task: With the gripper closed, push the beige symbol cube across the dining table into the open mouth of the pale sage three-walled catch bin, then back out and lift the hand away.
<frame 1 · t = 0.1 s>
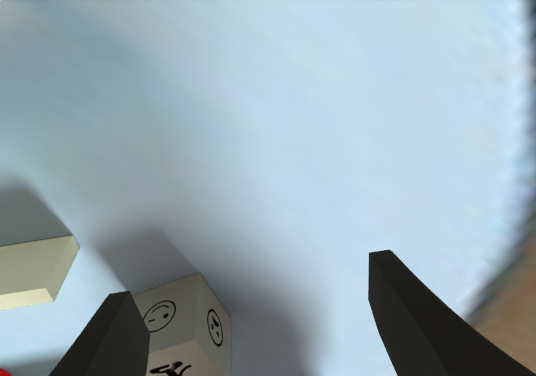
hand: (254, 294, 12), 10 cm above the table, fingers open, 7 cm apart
catch bin: (38, 330, 26), on the table
beige symbol cube: (183, 304, 27), on the table
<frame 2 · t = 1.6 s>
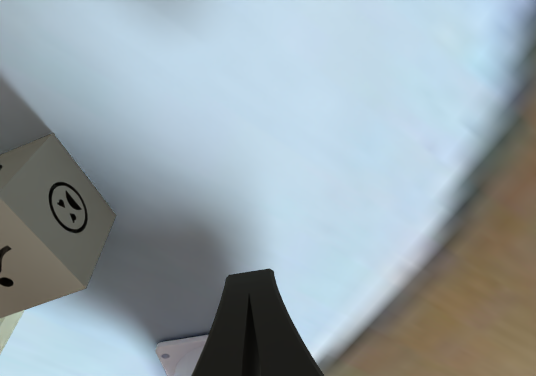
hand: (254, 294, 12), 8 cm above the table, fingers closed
beige symbol cube: (44, 191, 19), on the table
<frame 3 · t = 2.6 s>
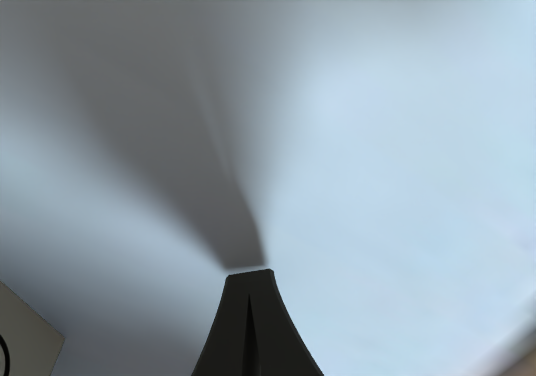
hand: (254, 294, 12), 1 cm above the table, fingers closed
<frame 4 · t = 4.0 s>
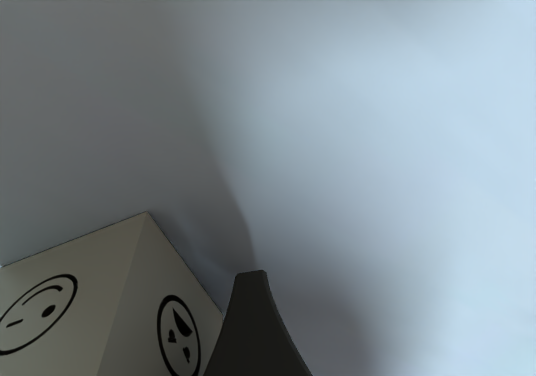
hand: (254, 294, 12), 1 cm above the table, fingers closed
beige symbol cube: (121, 288, 13), on the table, touching gripper
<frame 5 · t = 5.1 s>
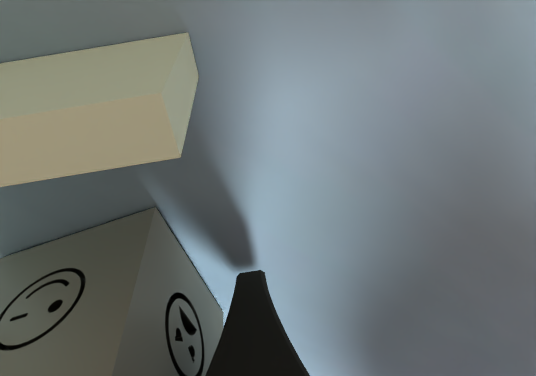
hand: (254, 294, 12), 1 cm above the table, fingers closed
catch bin: (80, 299, 13), on the table
beige symbol cube: (123, 283, 13), on the table, touching gripper
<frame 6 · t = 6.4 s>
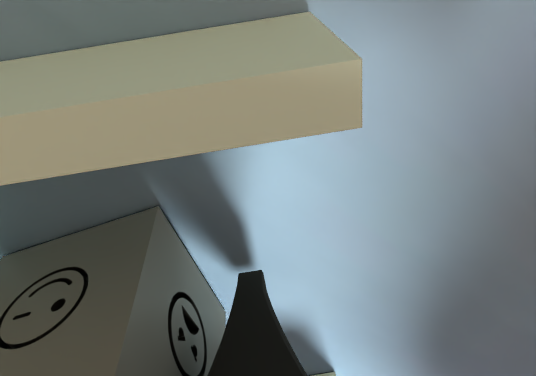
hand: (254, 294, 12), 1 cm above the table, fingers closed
catch bin: (160, 285, 13), on the table
beige symbol cube: (125, 282, 13), on the table, touching gripper
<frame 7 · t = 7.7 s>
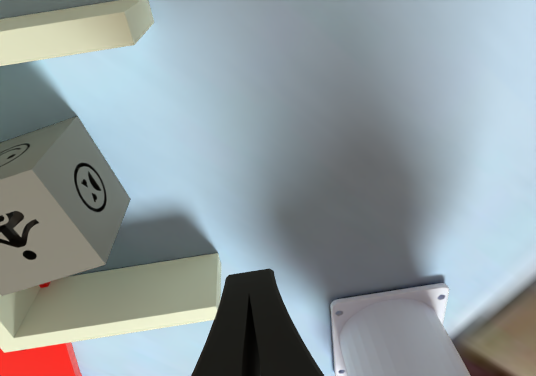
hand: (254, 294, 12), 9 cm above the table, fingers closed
catch bin: (84, 175, 20), on the table
beige symbol cube: (62, 172, 20), on the table
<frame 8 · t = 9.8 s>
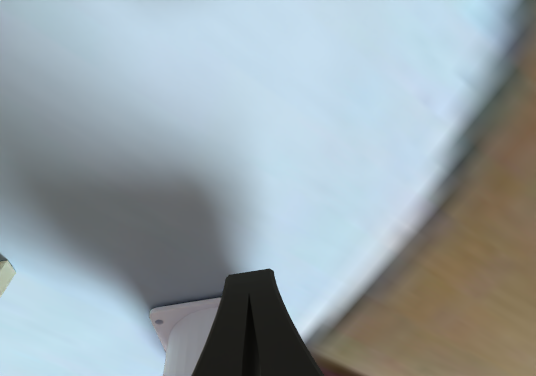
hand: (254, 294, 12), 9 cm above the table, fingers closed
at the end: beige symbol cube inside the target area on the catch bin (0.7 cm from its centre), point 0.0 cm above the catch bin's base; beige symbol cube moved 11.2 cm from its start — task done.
